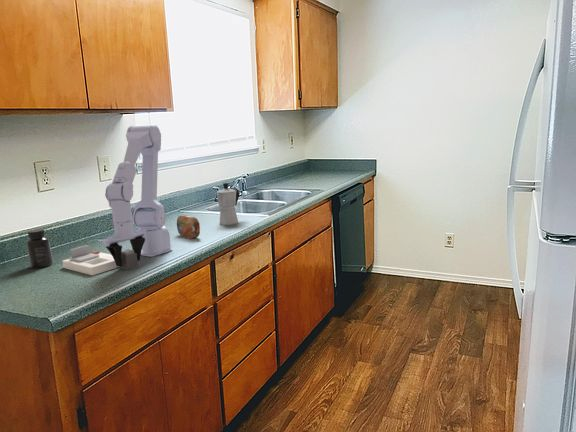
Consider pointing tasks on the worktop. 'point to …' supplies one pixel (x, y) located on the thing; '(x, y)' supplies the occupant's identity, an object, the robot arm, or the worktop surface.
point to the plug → (129, 259)
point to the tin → (188, 226)
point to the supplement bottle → (39, 249)
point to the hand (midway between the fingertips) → (128, 263)
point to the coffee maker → (228, 205)
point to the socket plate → (92, 264)
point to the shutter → (82, 254)
